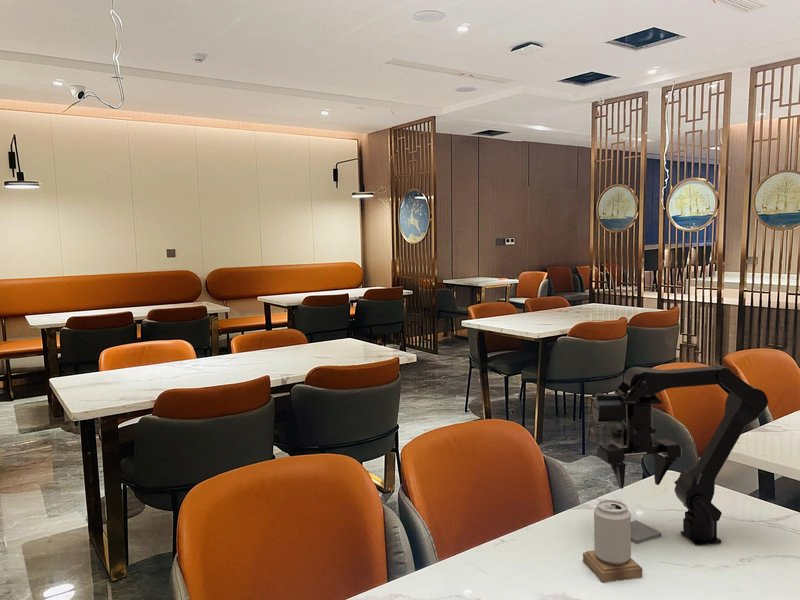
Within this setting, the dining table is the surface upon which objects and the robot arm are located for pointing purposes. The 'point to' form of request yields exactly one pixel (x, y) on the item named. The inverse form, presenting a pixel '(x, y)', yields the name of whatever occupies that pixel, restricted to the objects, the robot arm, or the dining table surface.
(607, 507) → the can
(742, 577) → the dining table surface
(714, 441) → the robot arm
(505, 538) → the dining table surface
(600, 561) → the plinth
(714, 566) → the dining table surface
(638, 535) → the slate coaster
